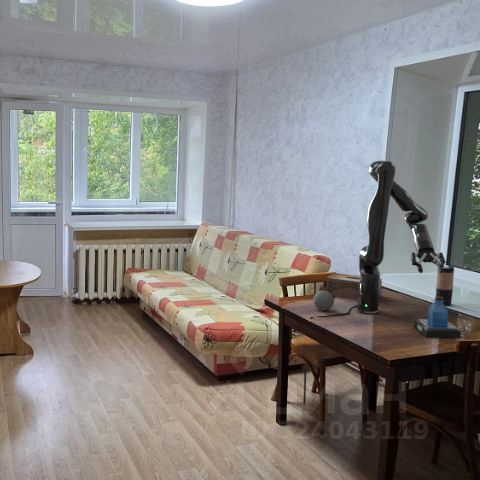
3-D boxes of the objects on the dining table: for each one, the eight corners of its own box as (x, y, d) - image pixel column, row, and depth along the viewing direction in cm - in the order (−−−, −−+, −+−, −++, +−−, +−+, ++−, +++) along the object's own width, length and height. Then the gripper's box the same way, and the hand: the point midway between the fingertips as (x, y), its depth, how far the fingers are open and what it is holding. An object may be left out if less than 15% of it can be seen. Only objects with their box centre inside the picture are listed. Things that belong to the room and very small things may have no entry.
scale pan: (428, 329, 226) (428, 327, 226) (417, 320, 238) (417, 319, 238) (457, 330, 225) (457, 328, 225) (445, 321, 237) (445, 319, 237)
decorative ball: (329, 314, 260) (330, 294, 259) (310, 310, 266) (310, 291, 265) (336, 309, 268) (337, 290, 266) (317, 306, 274) (317, 287, 272)
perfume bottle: (447, 326, 228) (449, 299, 226) (432, 325, 229) (433, 298, 227) (442, 321, 234) (444, 295, 232) (427, 320, 235) (429, 295, 233)
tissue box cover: (325, 294, 295) (326, 277, 294) (335, 289, 307) (335, 272, 305) (373, 302, 280) (373, 283, 278) (380, 296, 291) (381, 278, 289)
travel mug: (443, 306, 269) (445, 268, 266) (431, 302, 277) (434, 265, 273) (455, 305, 271) (457, 267, 268) (443, 301, 279) (446, 264, 275)
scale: (425, 337, 226) (425, 330, 225) (413, 326, 240) (413, 320, 239) (460, 337, 224) (460, 331, 224) (446, 327, 238) (446, 320, 238)
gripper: (410, 239, 249) (417, 267, 240) (441, 239, 247) (450, 268, 238) (405, 248, 255) (412, 276, 246) (436, 248, 253) (444, 276, 244)
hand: (431, 272), depth 242 cm, fingers open, 8 cm apart
